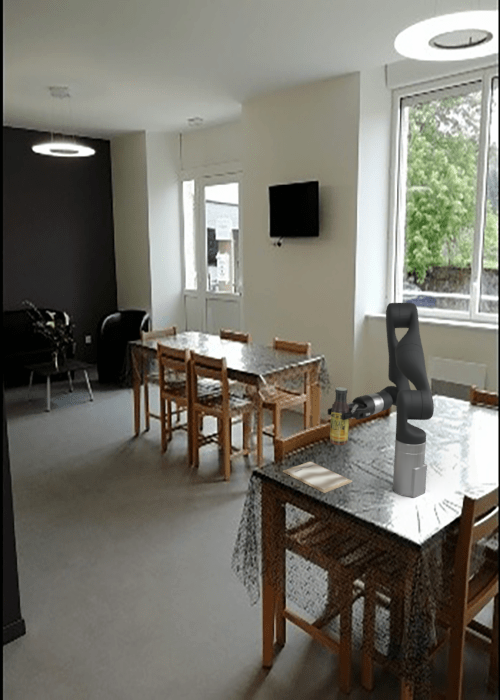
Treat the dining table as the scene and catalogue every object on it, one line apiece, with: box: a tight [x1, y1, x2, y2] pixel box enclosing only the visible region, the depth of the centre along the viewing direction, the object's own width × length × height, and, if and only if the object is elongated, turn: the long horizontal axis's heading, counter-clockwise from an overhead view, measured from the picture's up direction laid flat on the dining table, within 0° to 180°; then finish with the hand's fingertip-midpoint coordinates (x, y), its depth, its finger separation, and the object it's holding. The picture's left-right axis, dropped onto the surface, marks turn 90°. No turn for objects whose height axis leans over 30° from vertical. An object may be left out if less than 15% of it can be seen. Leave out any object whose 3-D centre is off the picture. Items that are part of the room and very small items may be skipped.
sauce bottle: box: [329, 386, 350, 446], centre depth 193 cm, size 6×6×20 cm
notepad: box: [282, 461, 353, 494], centre depth 189 cm, size 20×13×1 cm, turn 38°
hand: (335, 414), depth 192 cm, fingers closed on sauce bottle, 6 cm apart
